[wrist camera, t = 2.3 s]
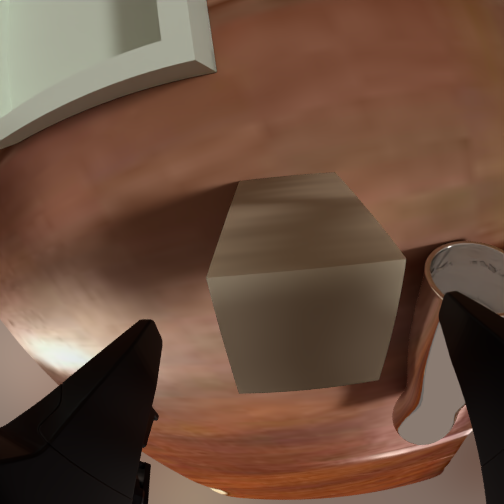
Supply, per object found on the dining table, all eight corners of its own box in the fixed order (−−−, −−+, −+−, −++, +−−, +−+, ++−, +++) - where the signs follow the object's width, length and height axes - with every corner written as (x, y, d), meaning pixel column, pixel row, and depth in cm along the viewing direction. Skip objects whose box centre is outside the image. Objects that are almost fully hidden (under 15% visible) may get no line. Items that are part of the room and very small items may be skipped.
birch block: (252, 263, 15) (239, 393, 8) (239, 181, 13) (206, 277, 6) (336, 256, 15) (378, 379, 8) (335, 172, 13) (406, 258, 6)
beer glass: (470, 429, 15) (554, 293, 8) (399, 461, 16) (467, 342, 8) (442, 372, 21) (484, 230, 14) (377, 396, 22) (398, 252, 14)
